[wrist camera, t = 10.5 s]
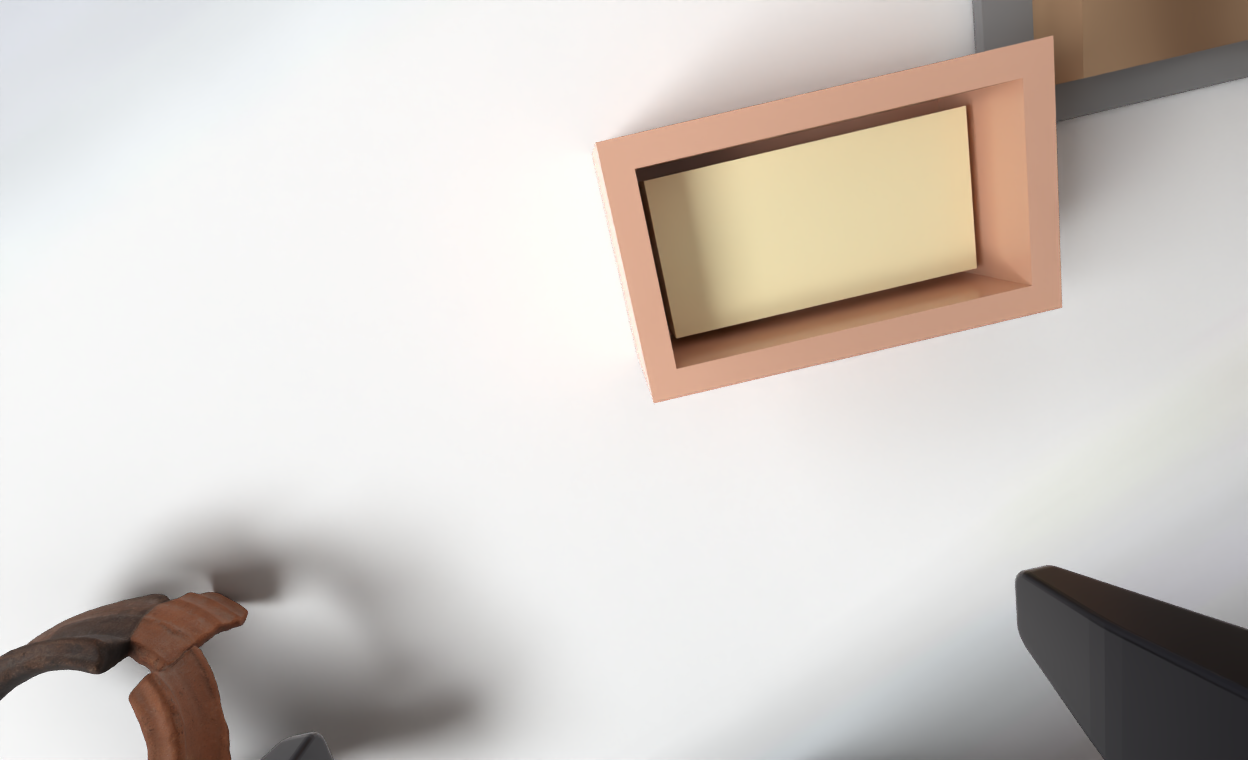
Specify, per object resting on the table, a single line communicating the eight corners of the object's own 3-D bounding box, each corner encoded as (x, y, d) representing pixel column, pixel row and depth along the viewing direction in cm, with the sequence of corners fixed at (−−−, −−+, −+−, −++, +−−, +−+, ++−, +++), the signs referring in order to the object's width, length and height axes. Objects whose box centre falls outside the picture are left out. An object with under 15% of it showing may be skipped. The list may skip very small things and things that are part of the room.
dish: (957, 282, 20) (1062, 307, 16) (637, 357, 20) (653, 403, 16) (941, 72, 18) (1053, 35, 14) (592, 154, 18) (595, 142, 14)
